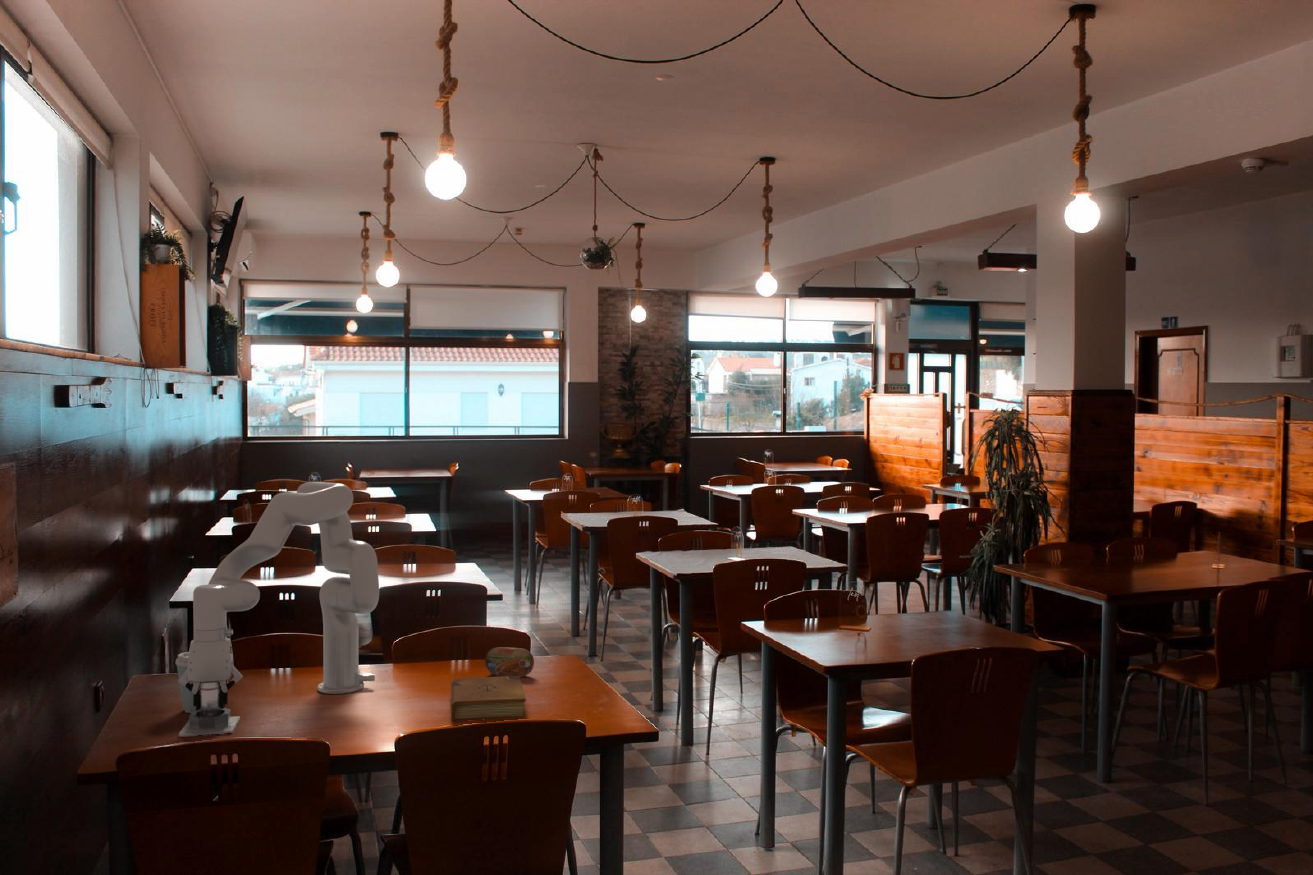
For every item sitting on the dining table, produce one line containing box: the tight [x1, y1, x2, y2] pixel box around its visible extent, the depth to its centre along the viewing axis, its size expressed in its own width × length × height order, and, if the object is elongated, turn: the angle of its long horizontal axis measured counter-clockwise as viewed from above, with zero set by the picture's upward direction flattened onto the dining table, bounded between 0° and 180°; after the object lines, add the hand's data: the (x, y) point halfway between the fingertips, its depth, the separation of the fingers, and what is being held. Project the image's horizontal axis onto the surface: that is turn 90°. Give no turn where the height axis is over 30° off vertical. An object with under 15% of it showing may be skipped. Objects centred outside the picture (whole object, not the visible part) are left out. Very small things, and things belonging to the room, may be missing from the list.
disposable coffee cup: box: [175, 651, 200, 714], centre depth 272 cm, size 11×11×15 cm
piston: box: [199, 681, 222, 717], centre depth 256 cm, size 5×5×9 cm
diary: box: [450, 676, 527, 723], centre depth 276 cm, size 23×19×6 cm
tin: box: [485, 646, 535, 678], centre depth 309 cm, size 15×3×8 cm, turn 73°
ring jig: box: [178, 707, 241, 738], centre depth 257 cm, size 12×12×4 cm
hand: (210, 707), depth 257 cm, fingers closed on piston, 5 cm apart
